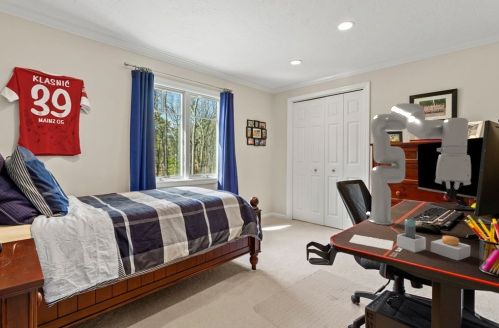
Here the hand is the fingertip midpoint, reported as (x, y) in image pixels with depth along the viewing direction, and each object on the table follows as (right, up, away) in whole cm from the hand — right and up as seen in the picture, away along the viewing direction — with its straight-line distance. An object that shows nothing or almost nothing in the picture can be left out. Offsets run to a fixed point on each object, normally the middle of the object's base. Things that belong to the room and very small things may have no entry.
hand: (451, 198), depth 97 cm
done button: (0, -17, 0) cm, 17 cm away
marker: (-12, -20, +6) cm, 24 cm away
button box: (0, -21, 0) cm, 21 cm away
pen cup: (-12, -21, +6) cm, 25 cm away
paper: (-25, -20, +13) cm, 34 cm away
